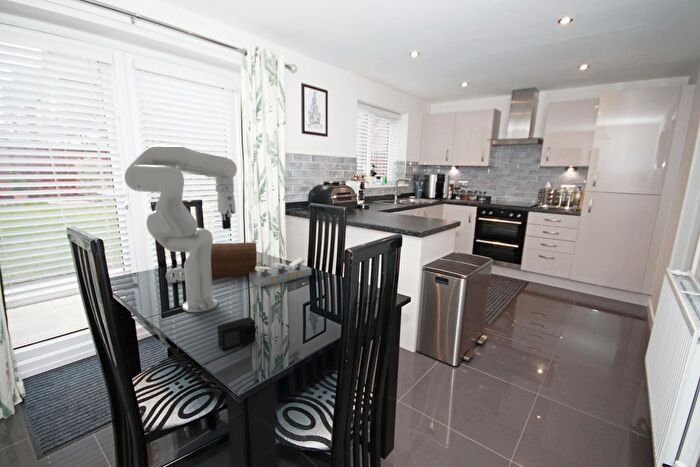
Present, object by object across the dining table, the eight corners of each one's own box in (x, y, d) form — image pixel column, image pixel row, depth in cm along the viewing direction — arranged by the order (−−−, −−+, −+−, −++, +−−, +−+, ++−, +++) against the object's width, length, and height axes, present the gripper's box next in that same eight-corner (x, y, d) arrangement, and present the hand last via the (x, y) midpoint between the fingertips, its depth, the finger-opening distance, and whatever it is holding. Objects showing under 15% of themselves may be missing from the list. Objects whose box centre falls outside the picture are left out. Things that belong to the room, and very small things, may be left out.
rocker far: (305, 262, 168) (303, 259, 167) (294, 269, 164) (293, 266, 163) (300, 260, 171) (299, 257, 170) (290, 267, 168) (288, 264, 167)
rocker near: (271, 273, 156) (272, 269, 156) (258, 272, 151) (259, 268, 151) (267, 270, 159) (268, 266, 159) (254, 270, 154) (255, 265, 154)
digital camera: (224, 353, 94) (223, 332, 93) (218, 346, 98) (217, 325, 97) (257, 342, 101) (256, 322, 99) (250, 335, 105) (249, 316, 103)
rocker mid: (288, 270, 162) (289, 266, 162) (276, 268, 157) (277, 264, 157) (284, 268, 165) (285, 264, 165) (272, 266, 161) (273, 262, 161)
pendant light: (192, 279, 157) (188, 219, 151) (177, 285, 148) (172, 222, 142) (177, 276, 159) (172, 218, 153) (161, 282, 150) (156, 220, 144)
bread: (199, 269, 172) (198, 240, 170) (256, 266, 181) (256, 239, 178) (194, 280, 155) (192, 248, 152) (257, 276, 164) (256, 246, 161)
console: (311, 275, 167) (311, 266, 166) (260, 287, 148) (259, 277, 147) (299, 270, 176) (299, 261, 175) (249, 280, 157) (248, 270, 157)
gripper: (239, 189, 139) (241, 230, 143) (227, 187, 151) (228, 225, 154) (222, 189, 135) (224, 231, 138) (210, 187, 146) (212, 227, 149)
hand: (226, 228), depth 146 cm, fingers closed
